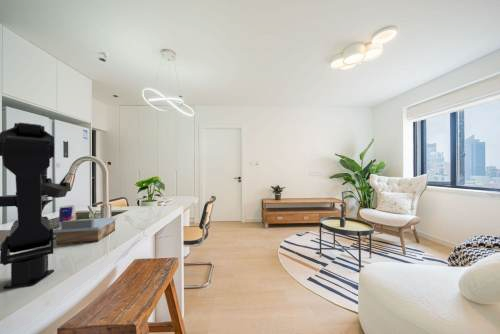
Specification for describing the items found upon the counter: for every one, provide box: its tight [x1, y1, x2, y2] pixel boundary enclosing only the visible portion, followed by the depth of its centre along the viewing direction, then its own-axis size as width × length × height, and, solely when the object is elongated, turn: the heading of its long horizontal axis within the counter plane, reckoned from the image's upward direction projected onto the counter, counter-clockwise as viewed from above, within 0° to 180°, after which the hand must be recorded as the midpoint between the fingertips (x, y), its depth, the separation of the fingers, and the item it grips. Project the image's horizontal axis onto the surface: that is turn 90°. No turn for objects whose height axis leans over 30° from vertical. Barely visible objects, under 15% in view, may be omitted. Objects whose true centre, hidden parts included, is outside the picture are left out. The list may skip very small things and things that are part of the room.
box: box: [55, 220, 116, 246], centre depth 79 cm, size 14×14×5 cm
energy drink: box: [58, 204, 76, 228], centre depth 86 cm, size 5×5×12 cm
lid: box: [53, 217, 118, 234], centre depth 79 cm, size 15×15×4 cm
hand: (34, 223), depth 60 cm, fingers closed
